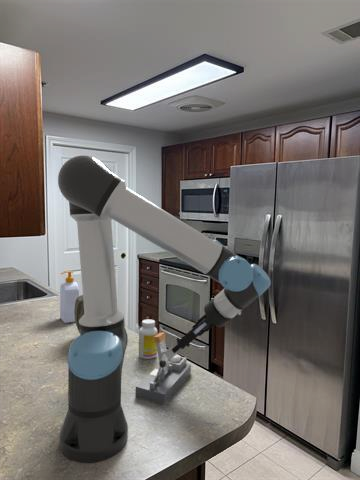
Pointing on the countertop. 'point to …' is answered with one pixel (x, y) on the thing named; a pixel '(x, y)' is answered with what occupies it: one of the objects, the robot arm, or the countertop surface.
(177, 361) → the push button
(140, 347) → the supplement bottle
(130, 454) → the countertop surface
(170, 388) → the switch panel
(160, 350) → the paddle lever
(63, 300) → the soap bottle
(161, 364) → the toggle switch
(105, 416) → the robot arm
